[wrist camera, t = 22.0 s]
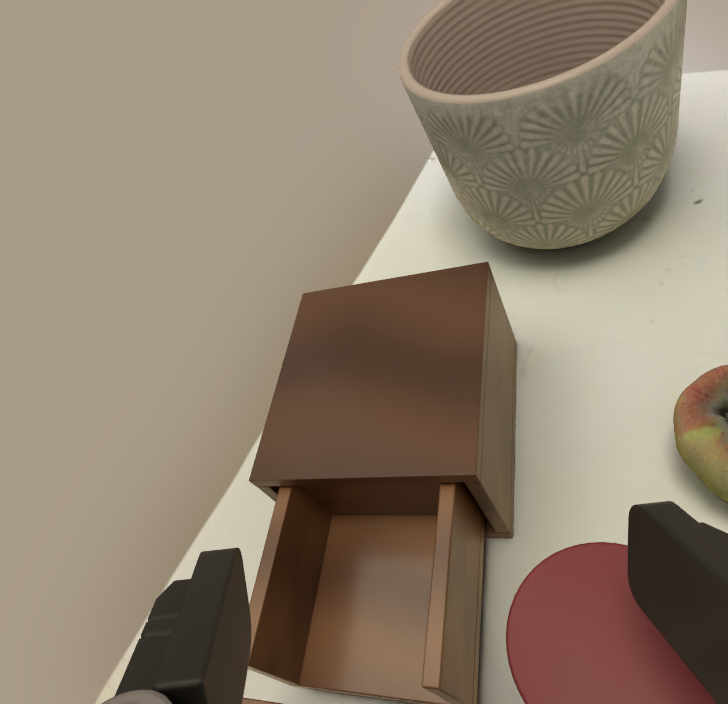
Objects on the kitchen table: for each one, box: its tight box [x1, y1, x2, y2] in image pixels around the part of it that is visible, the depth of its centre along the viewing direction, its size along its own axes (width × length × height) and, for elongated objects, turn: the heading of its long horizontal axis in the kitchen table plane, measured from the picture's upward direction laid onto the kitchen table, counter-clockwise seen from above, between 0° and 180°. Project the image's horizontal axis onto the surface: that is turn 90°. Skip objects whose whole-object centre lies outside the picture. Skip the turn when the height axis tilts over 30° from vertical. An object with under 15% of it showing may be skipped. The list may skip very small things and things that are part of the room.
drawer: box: [242, 482, 485, 704], centre depth 29 cm, size 17×11×6 cm
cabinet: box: [249, 262, 517, 538], centre depth 37 cm, size 14×13×8 cm
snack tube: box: [506, 542, 717, 704], centre depth 20 cm, size 5×5×15 cm
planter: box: [399, 0, 687, 249], centre depth 42 cm, size 17×17×15 cm
